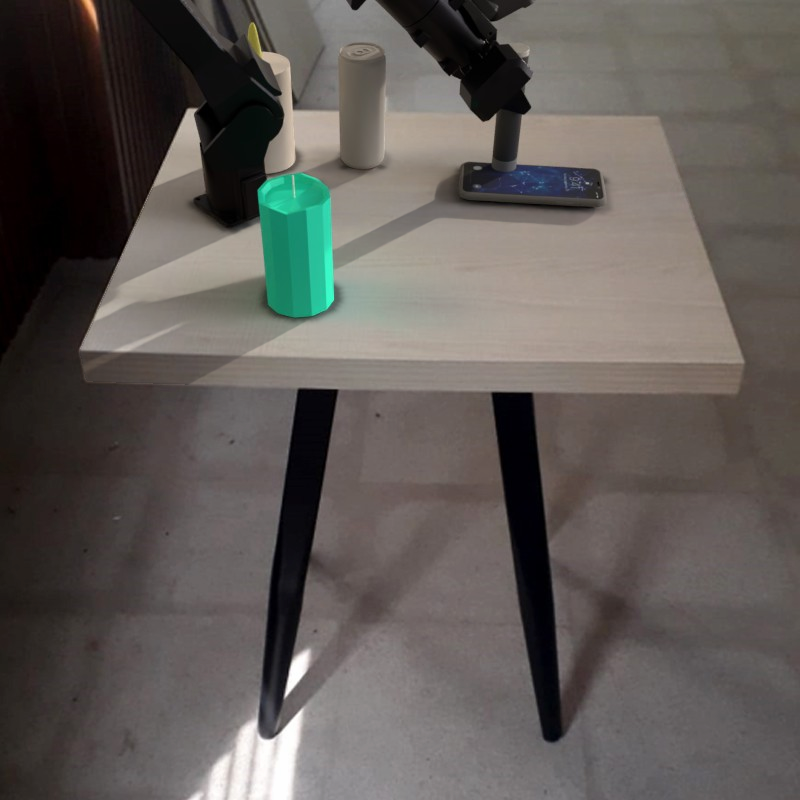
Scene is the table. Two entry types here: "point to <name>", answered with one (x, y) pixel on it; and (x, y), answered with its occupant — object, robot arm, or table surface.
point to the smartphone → (533, 185)
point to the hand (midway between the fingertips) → (522, 104)
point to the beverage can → (362, 104)
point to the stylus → (508, 128)
